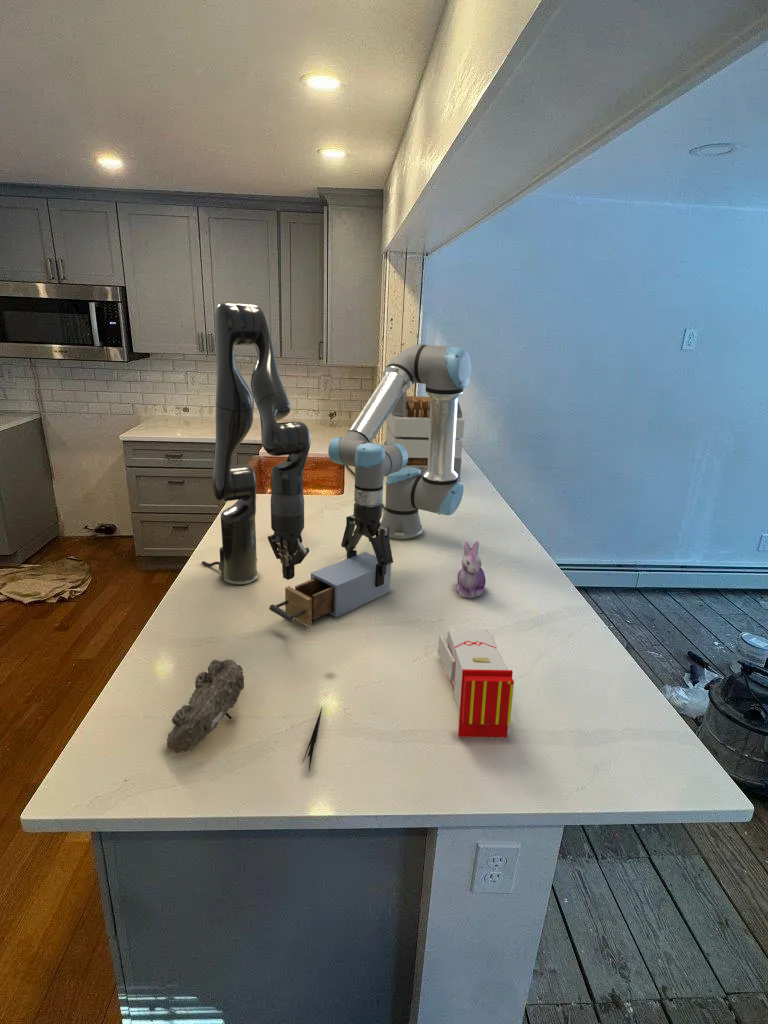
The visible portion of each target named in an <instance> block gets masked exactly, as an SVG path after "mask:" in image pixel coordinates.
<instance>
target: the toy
mask: <svg viewBox="0 0 768 1024" xmlns="http://www.w3.org/2000/svg"><path fill="white" fill-rule="evenodd" d="M446 640H447V643H446V641H445V639H444V636H443V635H442V634H439V637H438V646H437V656H438V657H439V659H440V661H441V663H442V666H443V668H444V670H445V672H446V674H447V677H448V679H449V681H450V684H451V687H452V690H453V693H454V697H455V701H456V705H457V708H458V711H459V714H458V715H459V716H458V730H457V731H458V732H457V737H458V738H508V731H509V726H510V725H511V717H512V707H513V697H514V696H513V695H514V684H515V680H514V679H513V673H514V671H513V670H512V669H508V667H507V665H506V662H505V661H504V659H503V658H502V655H501V653H500V651H499V649H498V647H497V643H496V639H495V637H494V635H493V634H491V632H490V631H489V629H467V628H466V629H465V628H463V629H461V628H460V629H459V628H448V630H447V639H446Z"/></svg>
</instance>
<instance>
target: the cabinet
mask: <svg viewBox="0 0 768 1024" xmlns="http://www.w3.org/2000/svg"><path fill="white" fill-rule="evenodd" d="M382 560H383V559H382ZM376 564H378V561H377V558H376V555H374V554H373V553H369V552H367V551H364V552H362V553H359V554H357V555H356V556H353V557H351V558H348V559H347V558H346V559H344V560H341V561H338V562H336V563H333V564H330V565H328V566H325V567H322V568H320V569H317V570H314V571H312V572H310V580H312V579H315V578H316V579H318V580H320V581H322V582H324V583H326V584H328V585H330V586H332V587H334V588H335V591H334V611H332V612H329V613H328V614H329V615H332V616H333V617H335V618H338V617H340V616H342V615H344V614H346V613H348V612H351V611H353V610H355V609H357V608H359V607H361V606H364V605H365V604H367V603H369V602H372V601H374V600H375V599H378V598H380V597H383V596H384V595H386V594H388V593H390V591H391V575H392V573H391V571H392V563H391V564H389V565H386V575H384V584H383V585H381V586H379V587H375V577H376Z"/></svg>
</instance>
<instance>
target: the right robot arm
mask: <svg viewBox="0 0 768 1024" xmlns="http://www.w3.org/2000/svg"><path fill="white" fill-rule="evenodd" d="M472 369H473V368H472V361H471V358H470V355H469V353H468V352H467V350H465V348H461V347H455V346H449V345H432V344H420V343H419V344H415V345H411V346H408V347H406V348H405V349H404V350H402V351H400V352H399V353H398V354H397V355H395V356H394V358H392V359H391V360H390V362H388V364H387V365H386V366H385V368H384V370H383V372H382V379H381V380H380V382H379V383H378V385H377V386H376V388H375V389H374V391H373V393H372V394H371V396H370V397H369V399H368V400H367V402H366V404H365V405H363V406H364V407H363V408H362V409H361V411H360V412H359V413H358V416H357V417H356V418H355V420H354V422H352V425H351V426H350V428H349V430H348V431H347V432H346V434H345V435H344V437H343V436H336V437H334V438H332V439H331V440H330V442H329V445H328V451H327V453H328V457H329V459H330V461H332V462H333V463H336V464H338V465H342V466H345V467H346V468H347V470H348V471H349V472H350V473H351V474H352V475H353V476H354V488H353V489H354V493H353V496H354V497H353V501H354V503H353V514H351V515H349V516H346V518H345V521H346V522H345V523H346V525H345V529H344V533H343V536H342V539H341V544H340V545H341V548H344V549H345V551H346V559H348V558H351V557H353V556H356V555H358V550H357V545H358V544H359V542H360V540H361V539H362V537H366V538H367V539H368V542H370V544H371V546H372V549H373V552H374V554H375V555H374V556H376V558H377V561H378V564H376V577H375V587H379V586H381V585H383V584H384V575H386V565H389V564H391V565H392V564H393V563H394V559H393V558H394V557H393V552H392V546H391V541H390V540H395V541H410V540H415V539H418V538H420V537H421V536H422V535H423V525H422V524H421V518H420V515H419V510H421V511H425V512H429V513H433V514H437V515H443V516H452V515H453V514H454V513H456V511H457V510H458V508H459V507H460V504H461V502H462V500H463V496H464V491H465V489H464V488H465V487H464V483H462V482H461V481H460V482H458V474H457V473H456V472H455V471H454V454H455V437H456V420H457V403H458V402H459V397H460V396H461V395H462V394H463V393H464V389H466V388H468V386H469V385H470V383H471V378H472ZM414 384H423V385H425V393H426V394H427V396H428V397H430V415H429V441H428V466H426V467H427V468H426V470H424V471H423V472H422V470H421V468H419V467H413V466H411V467H409V466H407V465H406V464H407V462H408V454H407V451H406V449H405V448H404V447H403V446H402V445H400V444H389V445H384V444H381V443H376V442H375V443H374V442H373V441H374V440H375V438H376V436H377V435H378V433H379V432H380V431H381V429H382V427H383V425H384V424H385V423H386V419H387V417H388V416H389V414H390V413H391V411H392V409H393V408H394V406H395V405H396V403H397V401H398V400H399V398H400V397H401V395H402V393H403V392H404V391H406V392H407V391H408V390H410V388H411V387H412V386H413V385H414ZM350 467H353V468H354V471H353V470H352V469H351V468H350ZM385 477H386V480H385V504H384V503H383V501H384V500H383V498H384V478H385ZM383 510H384V513H383ZM381 518H382V519H381ZM382 559H383V560H382Z"/></svg>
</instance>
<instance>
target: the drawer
mask: <svg viewBox="0 0 768 1024" xmlns="http://www.w3.org/2000/svg"><path fill="white" fill-rule="evenodd" d="M334 591H335V588H334V587H332V586H330V585H328V584H326V583H324V582H322V581H320V580H318V579H316V578H315V579H312V580H311V579H309V580H307V581H304V582H302V583H300V584H297V585H295V586H294V588H293V587H291V586H290V585H288V586H285V587H284V594H285V595H284V601H282V602H280V603H277V604H273V603H272V604H270V605H269V607H268V609H269V610H270V612H272V613H274V614H276V615H278V616H279V617H281V618H283V619H284V620H285V621H288V622H289V623H291V622H293V621H294V619H295V620H297V621H299V622H300V623H302V624H304V625H306V626H307V627H308V626H311V625H312V620H314V621H315V620H316V619H319V618H322V617H323V616H326V615H327V614H329V612H332V611H334ZM282 606H285V607H284V609H285V610H284V609H282V608H280V607H282Z"/></svg>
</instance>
